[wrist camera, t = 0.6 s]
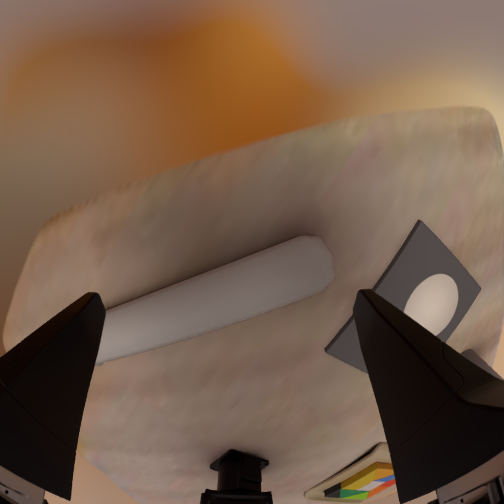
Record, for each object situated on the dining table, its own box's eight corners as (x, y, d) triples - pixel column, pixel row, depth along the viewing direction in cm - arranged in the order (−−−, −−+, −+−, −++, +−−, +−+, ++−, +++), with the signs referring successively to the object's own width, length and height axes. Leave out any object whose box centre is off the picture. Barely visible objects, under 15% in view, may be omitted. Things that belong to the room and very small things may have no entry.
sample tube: (456, 383, 29) (500, 436, 17) (442, 374, 29) (490, 433, 16) (479, 354, 28) (528, 402, 16) (466, 343, 28) (522, 395, 15)
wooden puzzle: (300, 491, 36) (302, 506, 32) (377, 438, 32) (384, 454, 29) (360, 497, 38) (363, 509, 35) (428, 448, 35) (435, 460, 31)
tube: (325, 218, 20) (64, 321, 22) (351, 287, 19) (83, 373, 21) (316, 229, 25) (94, 314, 27) (337, 284, 25) (111, 359, 27)
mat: (401, 388, 29) (404, 391, 28) (324, 349, 27) (326, 353, 26) (478, 287, 26) (482, 289, 25) (418, 219, 24) (422, 221, 23)
